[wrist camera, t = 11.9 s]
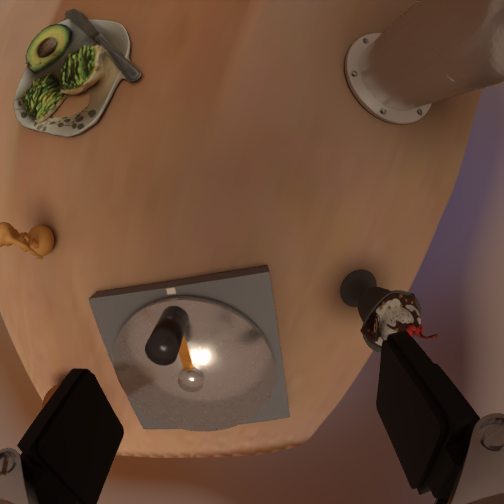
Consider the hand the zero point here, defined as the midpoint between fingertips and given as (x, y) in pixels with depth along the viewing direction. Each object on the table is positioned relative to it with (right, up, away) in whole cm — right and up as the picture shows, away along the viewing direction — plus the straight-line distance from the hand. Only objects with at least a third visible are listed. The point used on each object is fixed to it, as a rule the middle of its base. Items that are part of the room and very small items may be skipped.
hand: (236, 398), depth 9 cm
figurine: (-26, +7, +25) cm, 37 cm away
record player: (-7, -10, +27) cm, 29 cm away
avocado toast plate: (-23, +28, +20) cm, 42 cm away
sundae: (+14, 0, +28) cm, 31 cm away
